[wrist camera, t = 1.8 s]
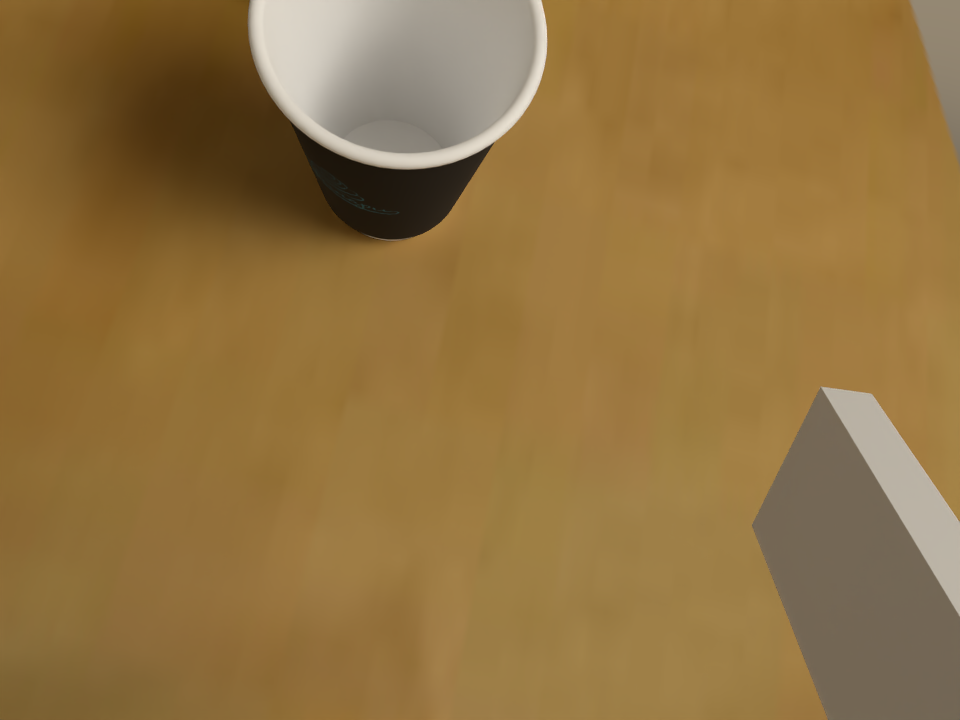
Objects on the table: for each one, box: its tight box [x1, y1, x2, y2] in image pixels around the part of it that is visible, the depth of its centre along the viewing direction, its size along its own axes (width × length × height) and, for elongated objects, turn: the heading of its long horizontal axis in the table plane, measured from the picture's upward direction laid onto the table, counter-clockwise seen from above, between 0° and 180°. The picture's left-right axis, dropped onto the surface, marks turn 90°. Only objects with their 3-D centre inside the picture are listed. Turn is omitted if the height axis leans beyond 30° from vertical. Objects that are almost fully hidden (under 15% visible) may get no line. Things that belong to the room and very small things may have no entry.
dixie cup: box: [248, 0, 547, 241], centre depth 27 cm, size 8×8×11 cm
